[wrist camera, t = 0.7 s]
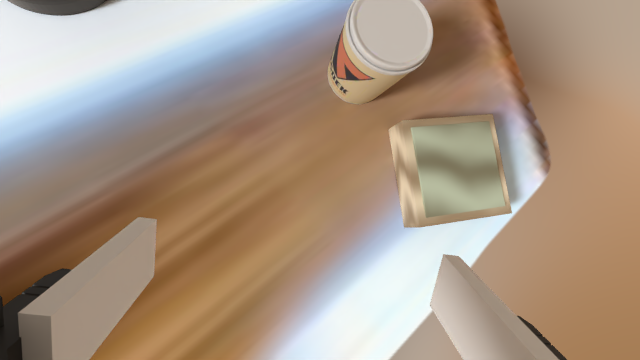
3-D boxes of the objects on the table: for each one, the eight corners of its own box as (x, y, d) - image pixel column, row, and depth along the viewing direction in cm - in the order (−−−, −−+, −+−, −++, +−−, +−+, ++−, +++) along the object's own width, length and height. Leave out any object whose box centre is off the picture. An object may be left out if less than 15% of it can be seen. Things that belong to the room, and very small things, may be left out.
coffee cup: (312, 49, 45) (337, -13, 33) (376, 39, 47) (420, -23, 36) (332, 117, 44) (364, 78, 33) (396, 103, 47) (447, 62, 35)
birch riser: (388, 129, 46) (403, 119, 42) (472, 122, 49) (494, 113, 45) (404, 227, 44) (420, 227, 40) (489, 214, 47) (513, 212, 43)
